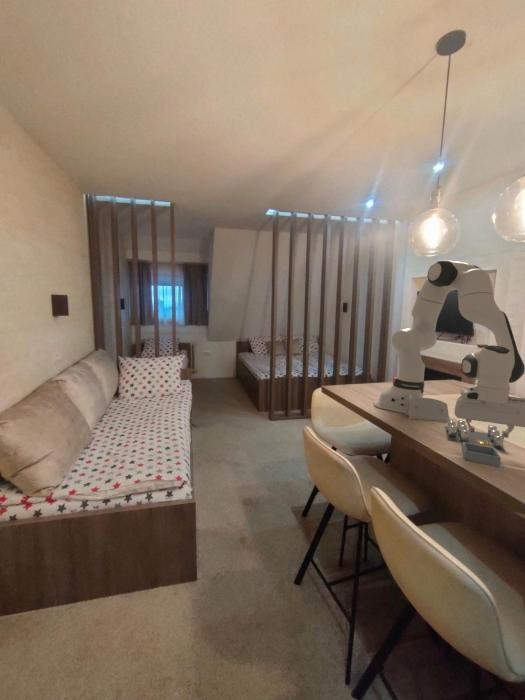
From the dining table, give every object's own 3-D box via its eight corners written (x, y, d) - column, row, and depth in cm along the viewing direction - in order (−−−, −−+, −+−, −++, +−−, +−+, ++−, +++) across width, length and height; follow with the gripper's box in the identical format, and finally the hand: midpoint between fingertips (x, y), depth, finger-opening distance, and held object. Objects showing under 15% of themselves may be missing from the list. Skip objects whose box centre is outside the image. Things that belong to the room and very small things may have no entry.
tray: (464, 459, 99) (465, 451, 99) (461, 450, 106) (462, 441, 106) (499, 467, 95) (500, 457, 95) (493, 456, 102) (494, 447, 102)
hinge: (408, 418, 137) (408, 395, 139) (406, 418, 141) (406, 396, 143) (450, 423, 132) (450, 399, 134) (447, 423, 137) (447, 400, 139)
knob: (476, 452, 105) (477, 443, 105) (472, 447, 109) (473, 438, 109) (492, 454, 104) (493, 446, 103) (487, 449, 108) (488, 441, 108)
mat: (447, 441, 113) (447, 440, 113) (444, 427, 128) (444, 426, 127) (505, 452, 106) (505, 451, 106) (495, 435, 120) (495, 434, 120)
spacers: (448, 439, 114) (450, 429, 113) (446, 427, 126) (447, 418, 125) (503, 449, 107) (504, 438, 106) (494, 436, 119) (496, 426, 118)
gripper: (528, 396, 102) (523, 437, 104) (455, 389, 111) (452, 426, 113) (535, 401, 97) (529, 443, 98) (458, 392, 106) (454, 432, 107)
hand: (487, 434), depth 106 cm, fingers open, 8 cm apart
